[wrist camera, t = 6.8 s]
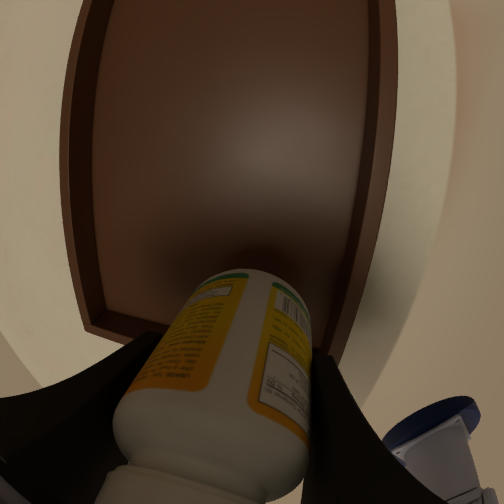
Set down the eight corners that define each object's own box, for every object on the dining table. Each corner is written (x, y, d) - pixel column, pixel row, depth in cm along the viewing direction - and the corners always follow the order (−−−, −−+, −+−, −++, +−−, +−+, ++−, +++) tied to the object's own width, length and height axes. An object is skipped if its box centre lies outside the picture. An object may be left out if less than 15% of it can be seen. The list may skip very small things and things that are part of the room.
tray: (328, 355, 16) (330, 385, 14) (104, 311, 18) (84, 331, 15) (367, -80, 5) (373, -101, 3) (138, -70, 7) (122, -85, 4)
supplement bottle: (329, 286, 11) (354, 554, 2) (287, 375, 13) (261, 563, 4) (199, 247, 11) (28, 459, 2) (183, 343, 13) (94, 512, 4)
